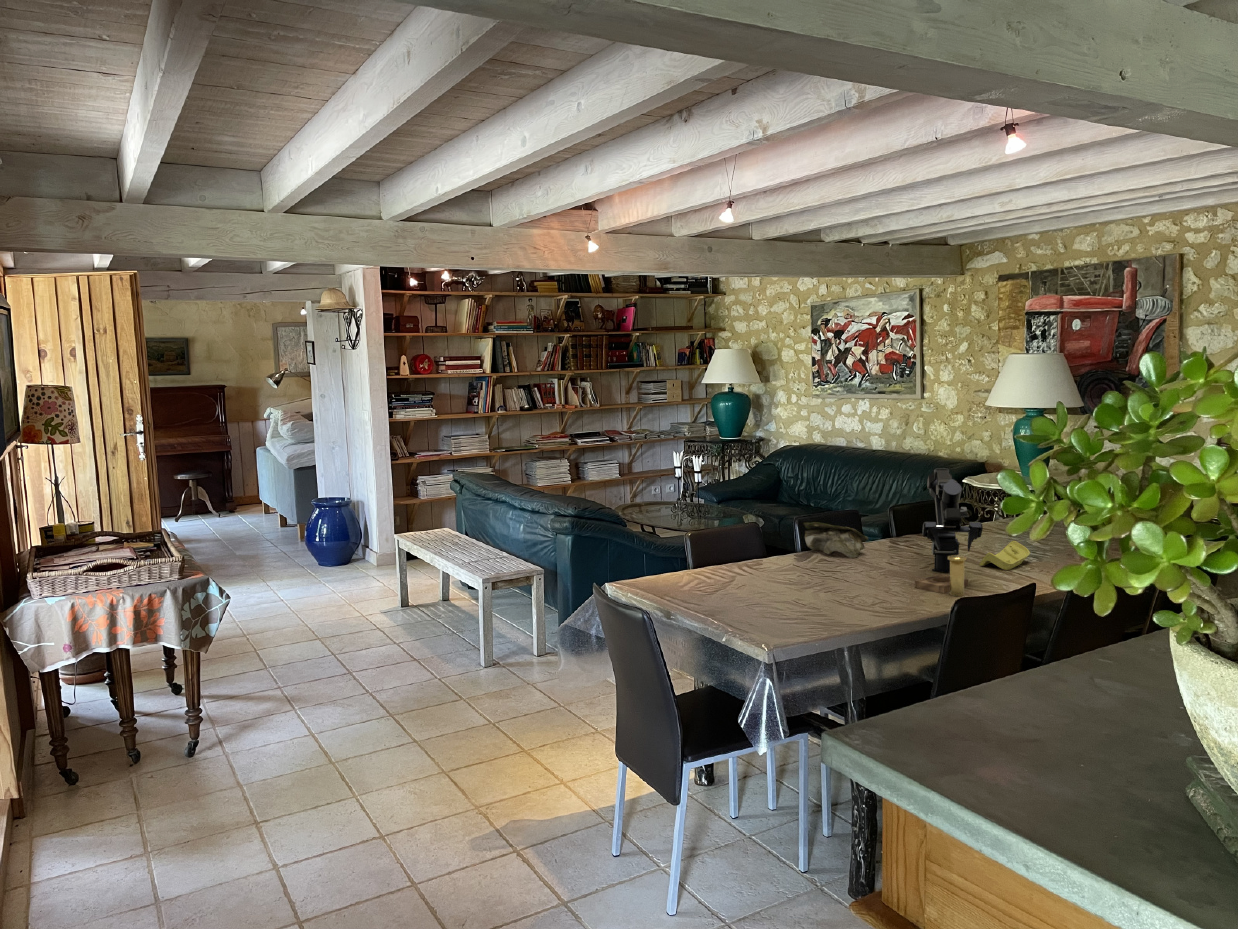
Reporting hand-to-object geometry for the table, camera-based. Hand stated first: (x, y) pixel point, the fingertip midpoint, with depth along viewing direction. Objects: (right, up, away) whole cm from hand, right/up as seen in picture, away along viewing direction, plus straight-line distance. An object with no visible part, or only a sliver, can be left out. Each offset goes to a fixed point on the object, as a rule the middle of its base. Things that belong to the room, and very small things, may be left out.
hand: (954, 550), depth 298 cm
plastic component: (+32, -9, +33) cm, 47 cm away
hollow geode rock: (-25, -7, +64) cm, 69 cm away
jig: (-3, -13, +5) cm, 14 cm away
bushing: (-1, -14, -6) cm, 15 cm away
